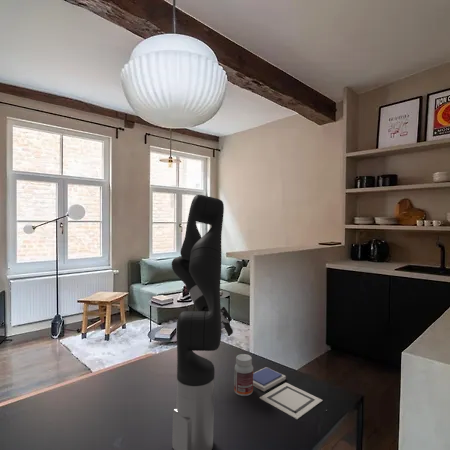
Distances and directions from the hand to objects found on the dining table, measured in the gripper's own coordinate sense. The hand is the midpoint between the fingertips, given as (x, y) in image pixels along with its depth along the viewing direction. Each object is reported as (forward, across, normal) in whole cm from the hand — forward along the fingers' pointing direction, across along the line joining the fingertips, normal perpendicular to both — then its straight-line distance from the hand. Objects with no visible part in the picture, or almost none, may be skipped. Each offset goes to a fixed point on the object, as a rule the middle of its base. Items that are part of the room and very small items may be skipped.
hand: (222, 337), depth 109 cm
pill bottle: (+18, 0, +3) cm, 18 cm away
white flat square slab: (+27, +8, -6) cm, 29 cm away
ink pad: (+18, +11, +3) cm, 21 cm away
